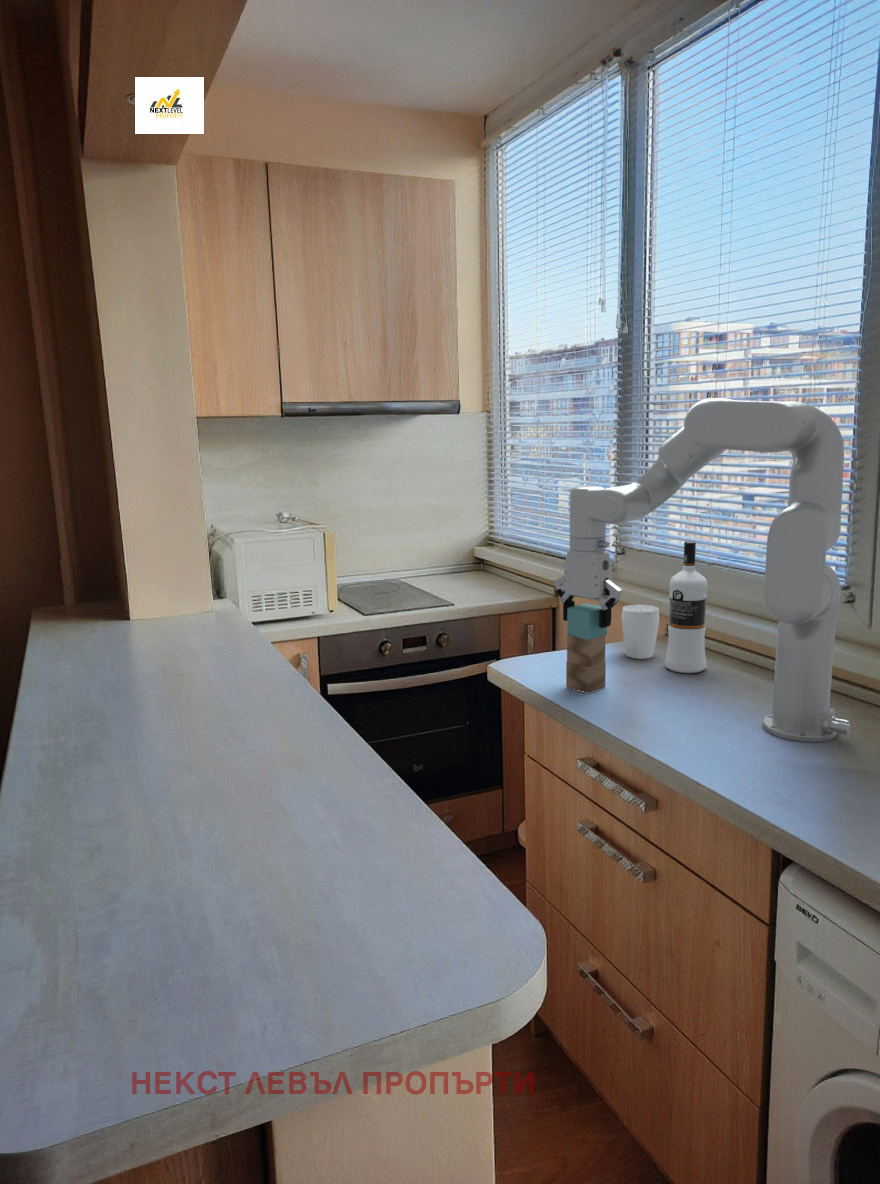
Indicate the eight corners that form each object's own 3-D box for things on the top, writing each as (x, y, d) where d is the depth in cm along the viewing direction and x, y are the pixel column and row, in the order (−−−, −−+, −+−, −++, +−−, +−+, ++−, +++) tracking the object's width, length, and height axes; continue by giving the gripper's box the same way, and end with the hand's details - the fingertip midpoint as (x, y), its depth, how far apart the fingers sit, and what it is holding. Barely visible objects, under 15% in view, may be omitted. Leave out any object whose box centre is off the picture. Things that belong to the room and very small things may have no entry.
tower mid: (605, 660, 178) (605, 633, 176) (591, 666, 173) (591, 639, 172) (581, 656, 181) (581, 629, 180) (566, 662, 177) (567, 635, 176)
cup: (662, 660, 197) (663, 612, 195) (624, 660, 197) (625, 612, 195) (653, 650, 206) (654, 604, 204) (617, 650, 206) (618, 604, 204)
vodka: (714, 670, 188) (720, 541, 182) (685, 676, 184) (689, 545, 178) (685, 660, 196) (690, 537, 190) (656, 666, 192) (660, 540, 186)
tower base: (605, 687, 178) (605, 661, 177) (588, 693, 174) (588, 666, 173) (583, 681, 183) (583, 655, 181) (566, 687, 179) (566, 661, 178)
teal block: (606, 634, 176) (607, 607, 175) (589, 639, 172) (589, 612, 171) (584, 629, 180) (584, 603, 179) (567, 634, 176) (567, 608, 175)
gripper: (632, 546, 168) (630, 626, 172) (566, 539, 181) (566, 614, 184) (610, 550, 163) (608, 633, 167) (544, 543, 176) (544, 620, 179)
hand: (586, 623), depth 176 cm, fingers open, 9 cm apart
